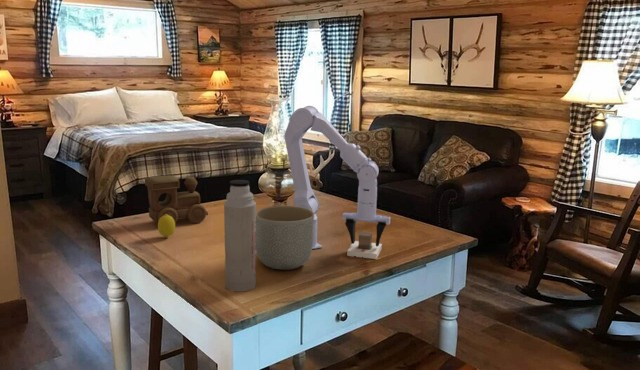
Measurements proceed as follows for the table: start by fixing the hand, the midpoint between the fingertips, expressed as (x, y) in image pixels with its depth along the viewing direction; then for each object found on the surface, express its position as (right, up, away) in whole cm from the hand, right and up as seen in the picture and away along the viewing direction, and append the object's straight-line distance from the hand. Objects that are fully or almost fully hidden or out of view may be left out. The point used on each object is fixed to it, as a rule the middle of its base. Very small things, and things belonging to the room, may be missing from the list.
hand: (365, 244), depth 171 cm
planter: (-25, -5, -11) cm, 27 cm away
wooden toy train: (-65, +5, +27) cm, 71 cm away
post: (0, -3, +1) cm, 3 cm away
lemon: (-64, +1, +9) cm, 65 cm away
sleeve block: (0, -3, +1) cm, 3 cm away
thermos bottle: (-35, -8, -27) cm, 45 cm away
